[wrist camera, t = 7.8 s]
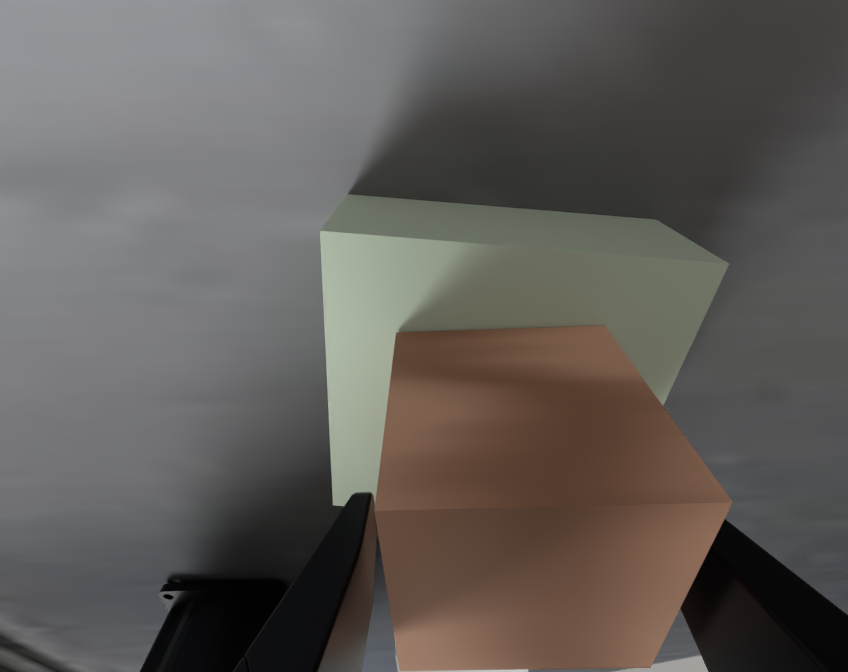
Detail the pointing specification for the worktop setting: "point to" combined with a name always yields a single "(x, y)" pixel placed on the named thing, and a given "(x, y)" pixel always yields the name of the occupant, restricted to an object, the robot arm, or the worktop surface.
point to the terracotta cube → (535, 503)
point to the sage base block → (491, 296)
